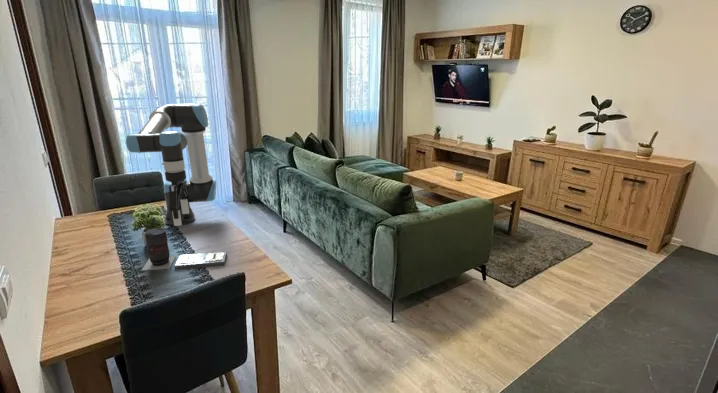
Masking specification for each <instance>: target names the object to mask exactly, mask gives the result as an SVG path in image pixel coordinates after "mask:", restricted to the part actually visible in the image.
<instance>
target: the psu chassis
mask: <svg viewBox="0 0 718 393" xmlns="http://www.w3.org/2000/svg"><path fill="white" fill-rule="evenodd" d="M227 257H228V252H227V251H226V250H225V251H215V252H214V251H212V252H211V251H210V252H200V253H188V254H187V253H186V254H179V256H178V258H177V260H176V262H175V264H174V267H173V268H174V271H176V270H177V271H179V270H180V271H181V270H190V268H192V269H199V268H200V267H204V268H212V267H216V268H217V267H224V266H225V265H226V260H227ZM200 269H201V268H200Z"/></svg>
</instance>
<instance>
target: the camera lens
mask: <svg viewBox="0 0 718 393" xmlns="http://www.w3.org/2000/svg"><path fill="white" fill-rule="evenodd" d="M166 231H167V230H166V229H165V228H162V227H161V228H160V227H156V228H152V229H148V230H146V231H145V232H144V233H145V234H144V237H145V243H146V251H147V254H148V257H149V258H150V262H152V265H153V266H162V265H165V264H167V263H168V262H169V256H170V250H169V249H170V248H169V245H168V235H167V234H168V233H167V232H166ZM149 258H148V259H149Z"/></svg>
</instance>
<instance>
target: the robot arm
mask: <svg viewBox="0 0 718 393" xmlns="http://www.w3.org/2000/svg"><path fill="white" fill-rule="evenodd" d="M208 119H209V118H208V115H207V112H206V108H205V106H204V105H203V104H201V103H168V104H165V105H161V106H160V107H157V108H156V109H154V110H153V111H152V112H151V113H150V115H149V117H148V121H146V123H145V124H144V125H143V127H142V128H141V129H140V130H139V131H138V133H132V134H127V135H126V137H125V138H126V139H125V145H126V148H127V151H128V152H130V153H138V154H141V153H161V156H162V162H161V165H162V166H163V168H164V176H165V181H166V182H165V183H164V184H163V193H164V200H165V205H166V212H165V216H164V221H165V225H168V224H169V226H174V227H178V226H179V227H181V226H182V225H187V224H189V223H192V222H194V220H195V219H196V217H195V212H193V209H192V208H191V204H190V203H201V202H203V203H204V202H206V203H207V202H213V201H214V200H216V199H215V198H216V195H217V181H216V180H215V179H213V176H212V175H211V174H210V173H209V166H208V164H209V163H208V157H207V152H206V143H205V136H204V133H205V131H207V130H206V128H207V127H209V120H208ZM169 128H180V129H181V132H179V131H176V130H174V131H173V130H167V129H169ZM166 130H167V131H166ZM186 148H187V152H188V158H189V159H188V160H189V164H190V172H191V177H190V178H189V181H188V180H187V174H186V170H185V169H186V167H185V159H184V154H183V152H184V151H183V150H185V149H186Z"/></svg>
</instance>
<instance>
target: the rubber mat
mask: <svg viewBox="0 0 718 393" xmlns="http://www.w3.org/2000/svg"><path fill="white" fill-rule="evenodd" d="M176 258H177V256H176V255H171V256H170V255H169V262H168V263H167V264H165V265H162V266H153V265H152V262H150V258H148V260H147V261H146V263H145V264H144V266H143V267H142V269H141V272H146V271H158V270H169V269H171V267H172V265H173V263H174V262H175V260H176Z"/></svg>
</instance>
